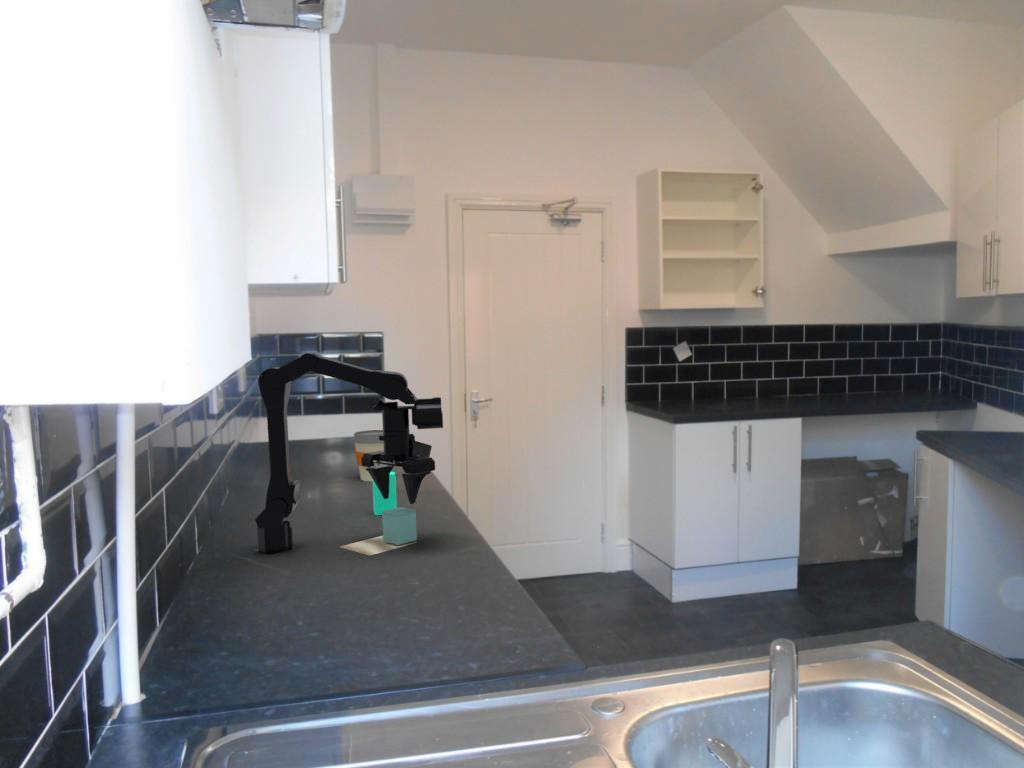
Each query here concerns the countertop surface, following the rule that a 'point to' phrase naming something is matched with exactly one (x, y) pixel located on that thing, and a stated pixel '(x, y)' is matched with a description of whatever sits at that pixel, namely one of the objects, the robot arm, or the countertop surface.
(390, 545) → the board
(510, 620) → the countertop surface
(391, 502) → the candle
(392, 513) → the teal rectangular block
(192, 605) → the countertop surface
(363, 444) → the reusable coffee cup
